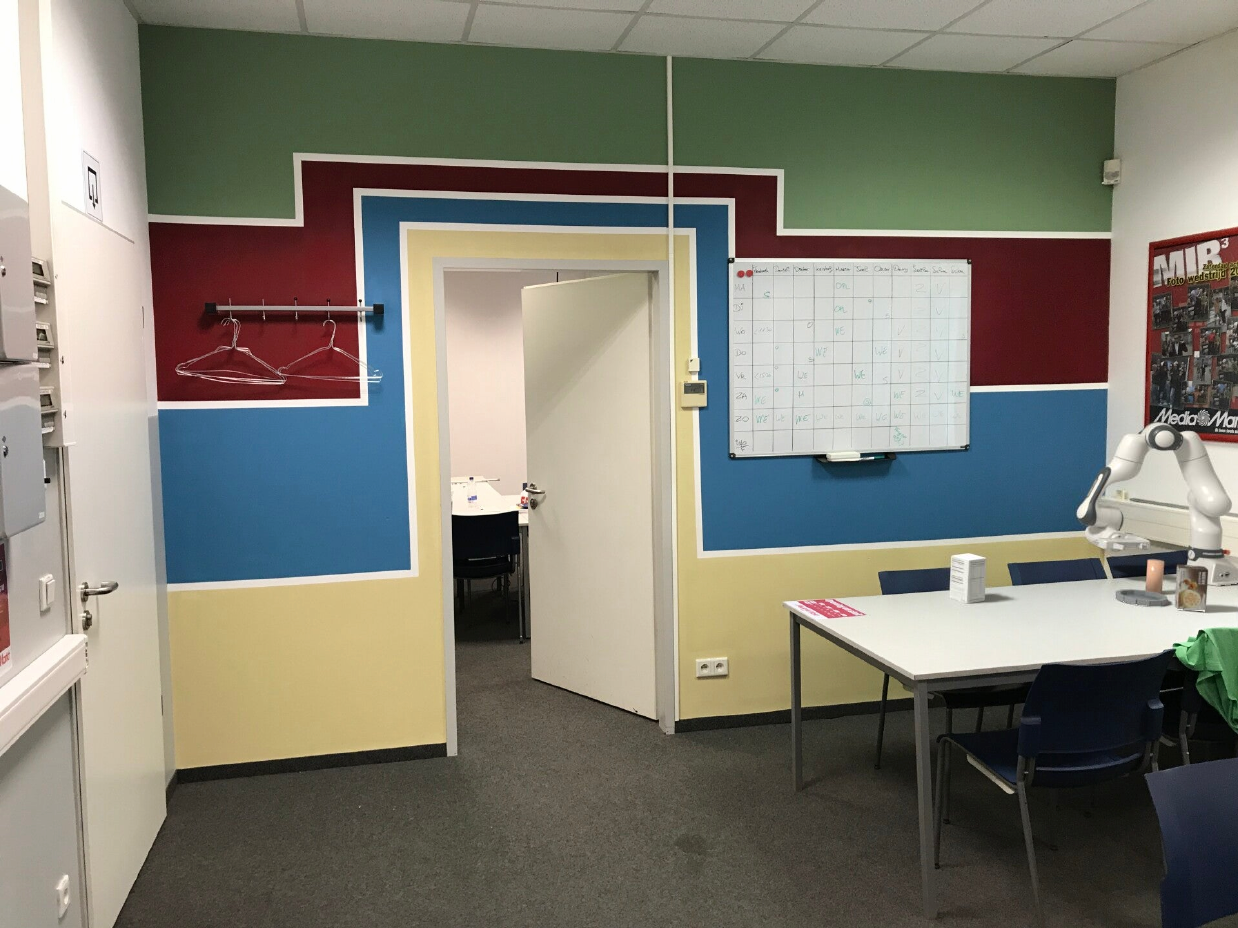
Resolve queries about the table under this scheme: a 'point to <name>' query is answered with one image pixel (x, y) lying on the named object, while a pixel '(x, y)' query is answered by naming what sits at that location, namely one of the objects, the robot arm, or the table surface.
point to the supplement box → (968, 578)
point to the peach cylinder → (1154, 575)
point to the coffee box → (1191, 587)
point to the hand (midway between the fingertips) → (1135, 547)
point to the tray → (1141, 597)
